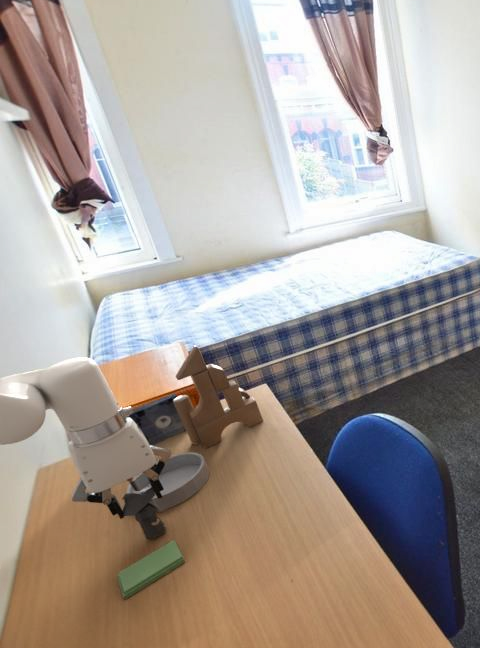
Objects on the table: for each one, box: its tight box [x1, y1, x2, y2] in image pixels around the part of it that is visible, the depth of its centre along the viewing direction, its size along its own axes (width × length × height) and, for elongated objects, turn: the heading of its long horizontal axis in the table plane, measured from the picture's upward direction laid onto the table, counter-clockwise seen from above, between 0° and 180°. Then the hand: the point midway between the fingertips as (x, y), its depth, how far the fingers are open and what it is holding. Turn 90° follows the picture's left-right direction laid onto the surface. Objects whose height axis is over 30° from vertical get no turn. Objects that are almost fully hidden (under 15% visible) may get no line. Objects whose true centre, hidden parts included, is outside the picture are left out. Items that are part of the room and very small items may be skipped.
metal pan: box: [125, 452, 210, 513], centre depth 102 cm, size 14×14×4 cm
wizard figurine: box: [121, 477, 167, 541], centre depth 88 cm, size 8×6×12 cm
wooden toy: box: [173, 344, 264, 449], centre depth 115 cm, size 16×7×25 cm, turn 136°
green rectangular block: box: [116, 539, 186, 600], centre depth 83 cm, size 9×6×1 cm, turn 137°
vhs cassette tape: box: [127, 392, 186, 446], centre depth 116 cm, size 18×3×10 cm, turn 133°
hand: (140, 503), depth 88 cm, fingers closed on wizard figurine, 5 cm apart
